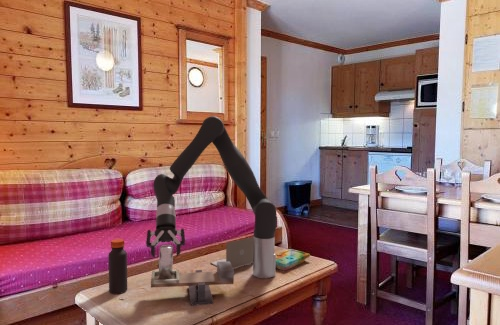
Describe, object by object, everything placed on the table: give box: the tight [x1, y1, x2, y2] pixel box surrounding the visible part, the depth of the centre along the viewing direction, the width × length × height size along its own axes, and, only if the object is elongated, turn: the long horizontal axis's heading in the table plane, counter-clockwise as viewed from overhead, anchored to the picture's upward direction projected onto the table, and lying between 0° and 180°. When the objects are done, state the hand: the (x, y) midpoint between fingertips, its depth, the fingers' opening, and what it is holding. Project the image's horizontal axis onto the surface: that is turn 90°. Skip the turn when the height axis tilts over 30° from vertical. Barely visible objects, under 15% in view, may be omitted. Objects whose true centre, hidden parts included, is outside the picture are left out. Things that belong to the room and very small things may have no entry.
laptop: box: [210, 236, 254, 269], centre depth 179 cm, size 18×12×13 cm
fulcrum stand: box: [188, 269, 214, 307], centre depth 143 cm, size 8×16×7 cm, turn 12°
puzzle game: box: [274, 248, 311, 272], centre depth 180 cm, size 12×5×20 cm
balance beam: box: [150, 261, 235, 289], centre depth 142 cm, size 30×10×5 cm, turn 102°
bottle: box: [107, 238, 128, 295], centre depth 146 cm, size 7×7×20 cm
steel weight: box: [158, 244, 174, 280], centre depth 140 cm, size 5×5×12 cm
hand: (165, 255), depth 138 cm, fingers open, 8 cm apart
